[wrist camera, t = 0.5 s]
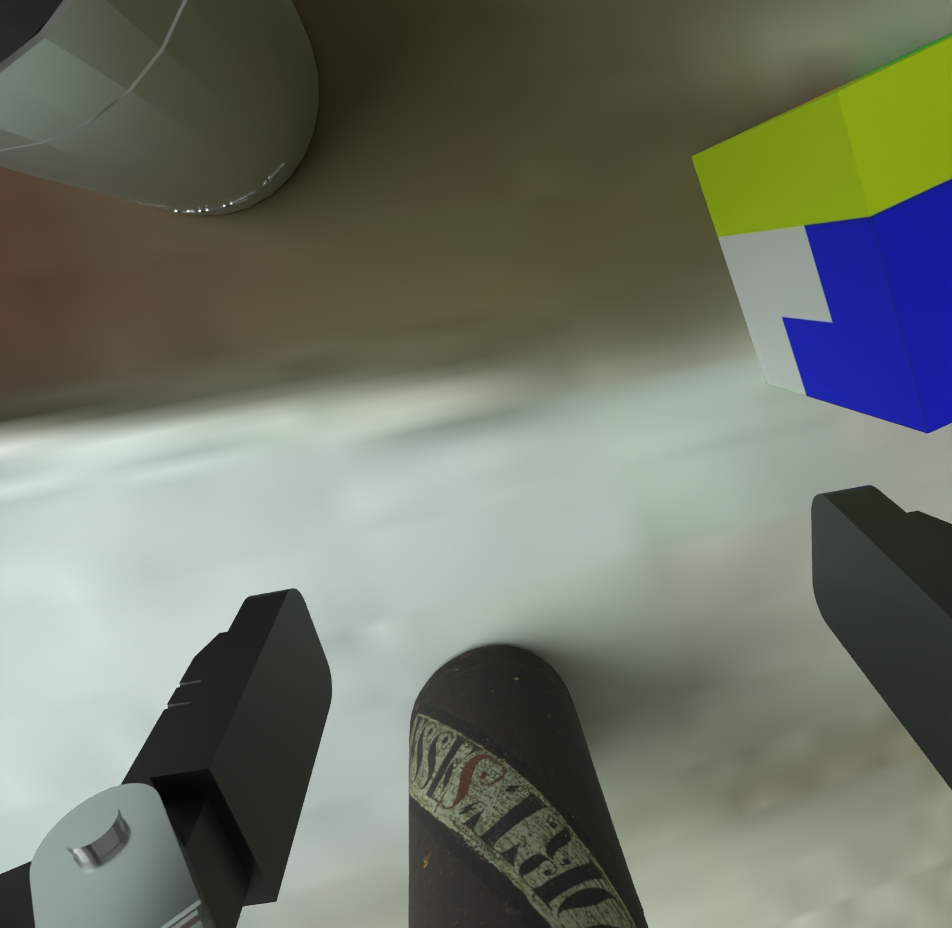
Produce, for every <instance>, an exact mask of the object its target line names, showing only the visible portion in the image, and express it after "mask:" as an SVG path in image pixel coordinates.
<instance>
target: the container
mask: <svg viewBox="0 0 952 928" xmlns="http://www.w3.org/2000/svg"><path fill="white" fill-rule="evenodd" d="M409 928H648V925H647V922H646V919H645V916H644V912H643V908H642V906H641V903H640V900H639V898H638V895H637V893H636V890H635V887H634V884H633V881H632V878H631V875H630V873H629V870H628V867H627V864H626V861H625V858H624V855H623V852H622V849H621V846H620V843H619V841H618V838H617V835H616V832H615V829H614V826H613V823H612V820H611V817H610V814H609V811H608V808H607V805H606V802H605V799H604V796H603V793H602V790H601V787H600V784H599V781H598V778H597V774H596V771H595V768H594V766H593V763H592V759H591V756H590V753H589V750H588V747H587V744H586V740H585V737H584V734H583V731H582V728H581V725H580V721H579V718H578V715H577V713H576V710H575V707H574V704H573V702H572V699H571V697H570V694H569V692H568V690H567V688H566V686H565V684H564V682H563V681H562V679H561V678H560V676H559V675H558V674H557V673H556V672H555V670H554V669H553V668H551V667H550V666H549V665H548V664H547V663H546V662H544V661H543V660H542V659H540V658H538V657H537V656H535V655H533V654H531V653H529V652H526V651H524V650H521V649H517V648H514V647H509V646H487V647H481V648H477V649H474V650H471V651H468V652H466V653H464V654H462V655H460V656H458V657H456V658H454V659H452V660H451V661H449V662H448V663H446V664H445V665H443V666H442V667H441V668H440V669H438V670H437V671H436V672H435V673H434V674H433V675H432V677H431V678H430V679H429V680H428V682H427V683H426V684H425V686H424V687H423V689H422V690H421V692H420V693H419V695H418V697H417V699H416V701H415V704H414V707H413V711H412V715H411V721H410V736H409Z"/></svg>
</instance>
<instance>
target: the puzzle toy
mask: <svg viewBox="0 0 952 928" xmlns="http://www.w3.org/2000/svg"><path fill="white" fill-rule="evenodd" d="M692 160H693V163H694V166H695V169H696V172H697V175H698V178H699V181H700V184H701V187H702V190H703V194H704V197H705V200H706V203H707V206H708V209H709V212H710V215H711V218H712V221H713V224H714V227H715V230H716V233H717V236H718V239H719V242H720V245H721V248H722V251H723V254H724V257H725V260H726V263H727V266H728V269H729V272H730V275H731V278H732V281H733V284H734V287H735V290H736V293H737V296H738V299H739V302H740V305H741V308H742V311H743V314H744V317H745V320H746V323H747V326H748V329H749V332H750V335H751V338H752V341H753V344H754V347H755V350H756V354H757V357H758V360H759V363H760V366H761V369H762V372H763V375H764V378H765V381H766V383H767V384H770V385H774V386H777V387H780V388H783V389H786V390H790V391H793V392H796V393H799V394H802V395H806V396H809V397H812V398H815V399H819V400H822V401H825V402H828V403H831V404H835V405H838V406H841V407H844V408H848V409H851V410H854V411H857V412H860V413H864V414H867V415H870V416H873V417H876V418H880V419H883V420H886V421H889V422H893V423H896V424H899V425H902V426H905V427H909V428H912V429H915V430H918V431H922V432H925V433H930V432H932V431H935V430H937V429H939V428H941V427H943V426H946V425H948V424H950V423H952V33H951V34H949V35H947V36H944V37H942V38H940V39H938V40H936V41H934V42H931V43H929V44H927V45H925V46H923V47H921V48H919V49H916V50H914V51H912V52H910V53H908V54H906V55H904V56H902V57H900V58H898V59H895V60H893V61H891V62H889V63H887V64H885V65H883V66H881V67H879V68H877V69H874V70H872V71H870V72H868V73H866V74H864V75H862V76H860V77H858V78H856V79H853V80H851V81H849V82H847V83H845V84H843V85H841V86H839V87H837V88H834V89H832V90H830V91H828V92H826V93H824V94H822V95H820V96H818V97H816V98H813V99H811V100H809V101H807V102H805V103H803V104H801V105H799V106H797V107H795V108H792V109H790V110H788V111H786V112H784V113H782V114H780V115H778V116H776V117H774V118H771V119H769V120H767V121H765V122H763V123H761V124H759V125H757V126H755V127H752V128H750V129H748V130H746V131H744V132H742V133H740V134H738V135H736V136H734V137H731V138H729V139H727V140H725V141H723V142H721V143H719V144H717V145H715V146H713V147H710V148H708V149H706V150H704V151H702V152H700V153H698V154H696V155H694V156H692Z"/></svg>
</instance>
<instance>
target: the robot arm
mask: <svg viewBox="0 0 952 928" xmlns="http://www.w3.org/2000/svg"><path fill="white" fill-rule="evenodd" d="M318 105H319V90H318V72H317V67H316V63H315V59H314V54H313V50H312V45H311V43H310V40H309V38H308V36H307V33H306V31H305V29H304V26H303V24H302V22H301V19H300V17H299V15H298V13H297V11H296V8H295V6H294V4H293V2H292V0H0V167H3V168H7V169H11V170H15V171H19V172H22V173H26V174H30V175H34V176H38V177H41V178H45V179H49V180H53V181H57V182H60V183H64V184H68V185H72V186H76V187H80V188H83V189H87V190H91V191H95V192H99V193H102V194H106V195H110V196H114V197H118V198H121V199H125V200H129V201H132V202H136V203H140V204H144V205H148V206H152V207H156V208H160V209H164V210H168V211H171V212H176V213H183V214H190V215H196V216H209V215H224V214H229V213H232V212H235V211H239V210H242V209H245V208H249V207H251V206H253V205H254V204H256V203H258V202H260V201H261V200H263V199H265V198H267V197H268V196H270V195H272V194H273V193H274V192H275V191H276V190H277V189H278V188H279V187H280V186H281V185H282V184H283V183H284V182H286V181H287V180H288V179H289V178H290V177H291V175H292V174H293V172H294V171H295V169H296V168H297V166H298V165H299V163H300V162H301V160H302V159H303V157H304V156H305V153H306V151H307V148H308V145H309V143H310V140H311V138H312V135H313V133H314V129H315V123H316V117H317V111H318ZM811 521H812V575H813V589H814V594H815V598H816V602H817V605H818V608H819V610H820V613H821V615H822V617H823V619H824V620H825V622H826V624H827V625H828V626H829V628H830V629H831V630H832V632H833V633H834V634H835V636H836V637H837V638H838V640H839V641H840V642H841V644H842V645H843V646H844V648H845V649H846V650H847V652H848V653H849V654H850V656H851V657H852V658H853V660H854V661H855V662H856V664H857V665H858V666H859V668H860V669H861V670H862V672H863V673H864V674H865V675H866V677H867V678H868V679H869V681H870V682H871V683H872V685H873V686H874V687H875V689H876V690H877V691H878V693H879V694H880V695H881V697H882V698H883V699H884V701H885V702H886V703H887V705H888V706H889V707H890V709H891V710H892V711H893V713H894V714H895V715H896V717H897V718H898V719H899V721H900V722H901V723H902V725H903V726H904V727H905V729H906V730H907V731H908V733H909V734H910V735H911V737H912V738H913V739H914V741H915V742H916V743H917V744H918V746H919V747H920V748H921V750H922V751H923V752H924V754H925V755H926V756H927V758H928V759H929V760H930V762H931V763H932V764H933V766H934V767H935V768H936V770H937V771H938V772H939V774H940V775H941V776H942V778H943V779H944V780H945V782H946V783H947V784H948V786H949V787H950V788H951V790H952V524H950V523H948V522H945V521H943V520H940V519H938V518H935V517H932V516H930V515H927V514H925V513H922V512H920V511H914V512H908V513H906V512H905V511H904V510H903V509H901V508H900V507H899V506H898V505H896V504H895V503H894V502H893V501H892V500H890V499H889V498H888V497H887V496H886V495H884V494H883V493H882V492H881V491H879V490H878V489H877V488H875V487H874V486H871V485H867V486H861V487H856V488H850V489H845V490H839V491H834V492H828V493H823V494H818V495H816V496H815V497H814V499H813V502H812V507H811ZM331 698H332V681H331V674H330V669H329V665H328V662H327V659H326V656H325V654H324V651H323V648H322V646H321V643H320V640H319V638H318V635H317V633H316V630H315V627H314V625H313V622H312V619H311V617H310V614H309V611H308V609H307V606H306V603H305V601H304V598H303V597H302V595H301V593H300V592H299V591H298V590H297V589H294V588H292V589H287V590H281V591H276V592H270V593H265V594H259V595H254V596H249V597H247V598H246V599H245V601H244V602H243V604H242V606H241V608H240V610H239V612H238V614H237V615H236V617H235V619H234V621H233V623H232V625H231V627H230V629H229V630H228V632H223V633H219V634H218V635H217V636H216V637H215V638H214V639H213V640H212V641H211V642H210V643H209V644H208V645H207V646H205V647H204V648H203V649H202V650H201V651H200V652H199V653H198V654H197V655H196V656H195V657H194V659H193V660H192V662H191V664H190V666H189V667H188V669H187V671H186V672H185V674H184V676H183V678H182V679H181V681H180V687H179V688H176V690H175V692H174V693H173V695H172V697H171V699H170V700H169V702H168V704H167V705H168V709H165V710H164V711H163V712H162V714H161V716H160V718H159V719H158V721H157V723H156V725H155V726H154V728H153V730H152V731H151V733H150V735H149V737H148V738H147V740H146V742H145V744H144V745H143V747H142V749H141V751H140V752H139V754H138V756H137V758H136V759H135V761H134V763H133V764H132V766H131V768H130V770H129V771H128V773H127V775H126V777H125V778H124V780H123V782H122V784H121V785H119V786H116V787H112V788H109V789H107V790H105V791H102V792H100V793H98V794H96V795H94V796H93V797H91V798H89V799H87V800H86V801H84V802H83V803H81V804H80V805H78V806H77V807H76V808H74V809H73V810H72V811H70V812H69V813H68V814H67V815H66V816H65V817H63V818H62V819H61V820H60V821H59V822H58V823H57V824H56V825H55V826H54V827H53V828H52V829H51V831H50V832H49V833H48V834H47V836H46V837H45V838H44V840H43V841H42V842H41V844H40V846H39V847H38V849H37V851H36V853H35V855H34V857H33V860H32V861H31V862H28V863H26V864H23V865H21V866H19V867H16V868H14V869H11V870H9V871H7V872H4V873H2V874H0V928H236V926H237V923H238V920H239V917H240V913H241V910H242V907H243V906H248V905H256V904H263V903H270V902H276V901H277V897H278V894H279V890H280V887H281V883H282V879H283V876H284V872H285V868H286V865H287V861H288V857H289V854H290V850H291V846H292V843H293V839H294V836H295V832H296V828H297V825H298V821H299V817H300V814H301V810H302V806H303V803H304V799H305V795H306V792H307V788H308V785H309V781H310V777H311V774H312V770H313V766H314V763H315V759H316V755H317V752H318V748H319V745H320V741H321V737H322V734H323V730H324V726H325V723H326V719H327V715H328V712H329V708H330V704H331Z"/></svg>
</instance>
